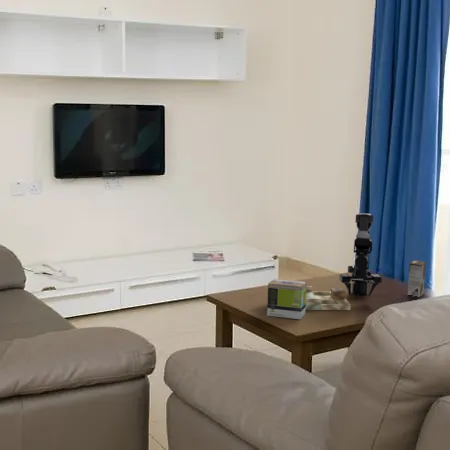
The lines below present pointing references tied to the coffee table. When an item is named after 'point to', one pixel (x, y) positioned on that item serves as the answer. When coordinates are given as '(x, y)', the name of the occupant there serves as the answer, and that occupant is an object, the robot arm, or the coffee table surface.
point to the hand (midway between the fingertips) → (359, 296)
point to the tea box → (286, 298)
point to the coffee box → (416, 278)
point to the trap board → (324, 301)
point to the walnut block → (337, 294)
